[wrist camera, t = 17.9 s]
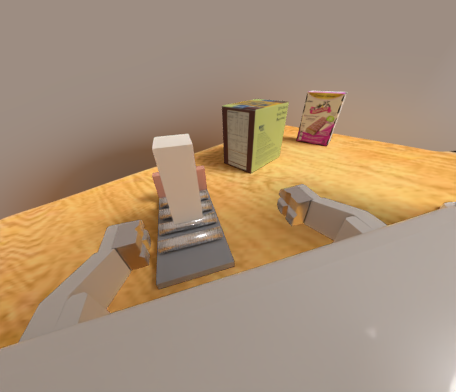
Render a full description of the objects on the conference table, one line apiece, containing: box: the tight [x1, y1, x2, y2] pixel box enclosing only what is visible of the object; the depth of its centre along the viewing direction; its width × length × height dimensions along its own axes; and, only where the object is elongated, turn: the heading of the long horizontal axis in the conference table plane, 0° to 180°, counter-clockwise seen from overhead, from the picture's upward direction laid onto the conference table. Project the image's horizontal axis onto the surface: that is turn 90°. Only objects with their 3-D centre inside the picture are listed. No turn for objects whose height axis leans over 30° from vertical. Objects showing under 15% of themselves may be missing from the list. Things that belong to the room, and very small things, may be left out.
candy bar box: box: [297, 91, 347, 146], centre depth 59 cm, size 11×5×16 cm, turn 55°
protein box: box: [222, 99, 289, 173], centre depth 47 cm, size 10×15×16 cm
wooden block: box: [152, 134, 203, 224], centre depth 25 cm, size 4×4×12 cm
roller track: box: [152, 166, 234, 289], centre depth 28 cm, size 10×20×6 cm, turn 17°
